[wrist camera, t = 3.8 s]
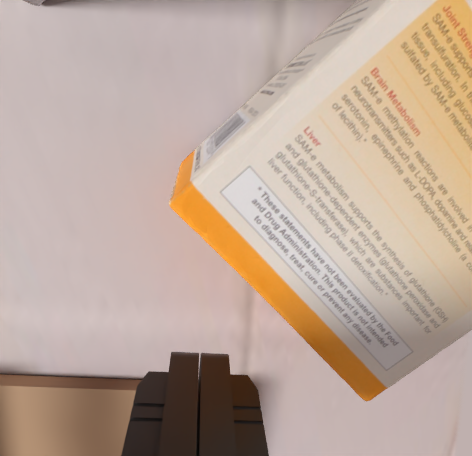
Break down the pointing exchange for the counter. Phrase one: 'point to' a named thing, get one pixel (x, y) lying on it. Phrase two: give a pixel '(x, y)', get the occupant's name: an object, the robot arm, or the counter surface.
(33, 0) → the coffee box
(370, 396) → the supplement box
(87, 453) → the track
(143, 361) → the counter surface
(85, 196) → the counter surface
